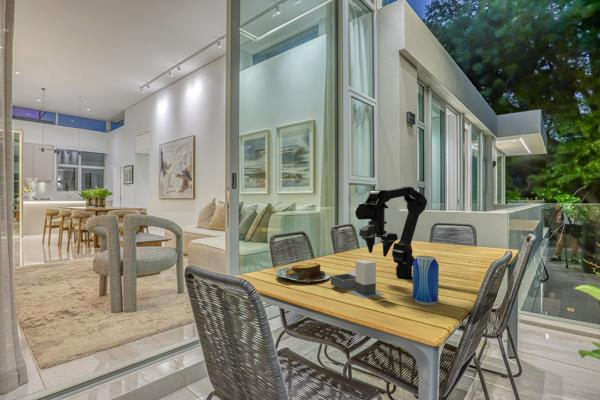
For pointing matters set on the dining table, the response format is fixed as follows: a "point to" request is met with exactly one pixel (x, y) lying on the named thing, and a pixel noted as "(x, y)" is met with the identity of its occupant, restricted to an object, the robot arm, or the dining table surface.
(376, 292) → the rubber mat
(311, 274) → the food on plate
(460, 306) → the dining table surface
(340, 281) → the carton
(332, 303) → the dining table surface
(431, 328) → the dining table surface
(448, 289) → the dining table surface
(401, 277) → the robot arm
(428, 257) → the beer can
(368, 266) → the box
